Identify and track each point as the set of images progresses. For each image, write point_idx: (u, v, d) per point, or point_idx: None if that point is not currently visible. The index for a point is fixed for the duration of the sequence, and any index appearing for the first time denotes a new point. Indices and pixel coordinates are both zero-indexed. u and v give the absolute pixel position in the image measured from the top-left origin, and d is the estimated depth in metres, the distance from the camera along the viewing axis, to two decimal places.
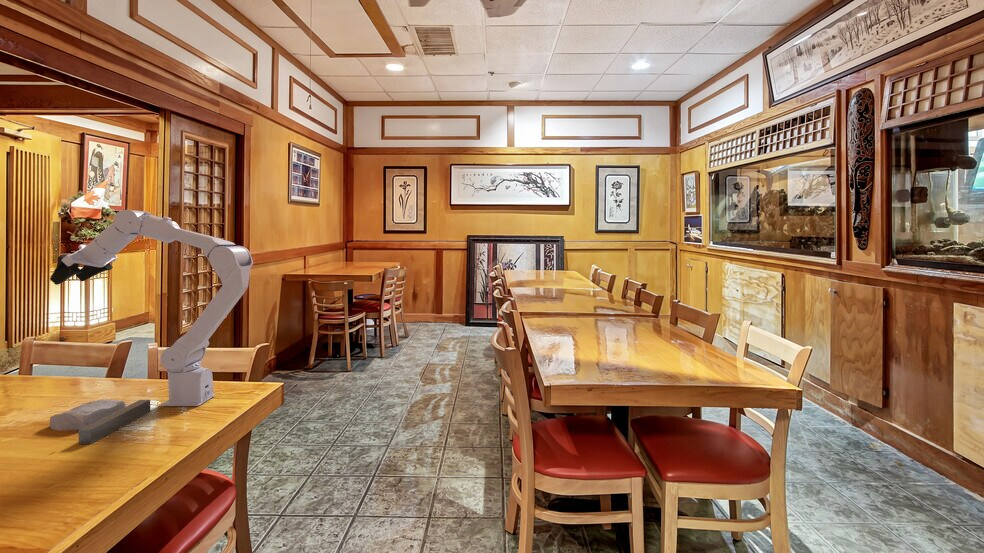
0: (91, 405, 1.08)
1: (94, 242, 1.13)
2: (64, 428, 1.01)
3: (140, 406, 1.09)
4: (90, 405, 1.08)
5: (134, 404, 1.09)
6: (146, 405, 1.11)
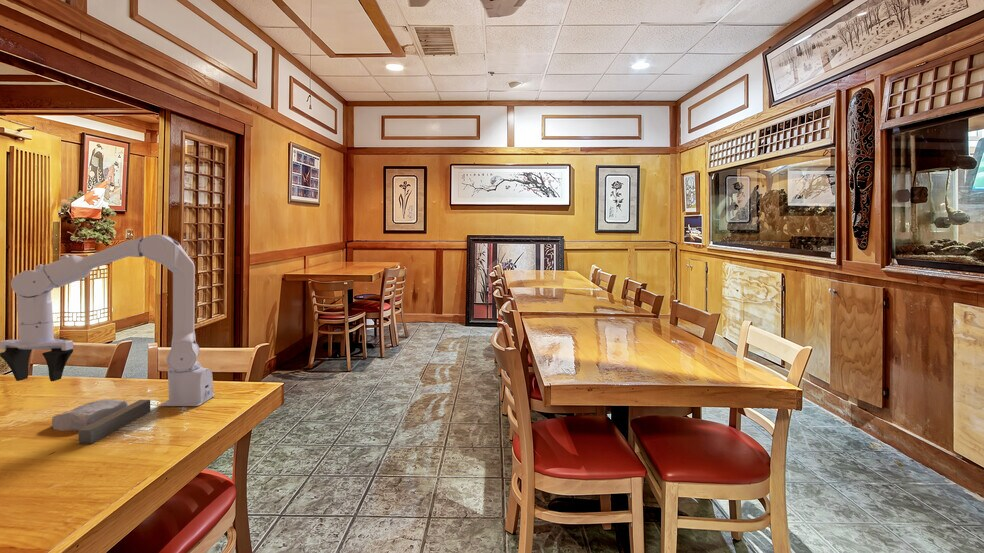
0: (93, 405, 1.08)
1: (41, 325, 1.04)
2: (66, 428, 1.01)
3: (140, 406, 1.09)
4: (92, 405, 1.08)
5: (134, 404, 1.09)
6: (146, 405, 1.11)
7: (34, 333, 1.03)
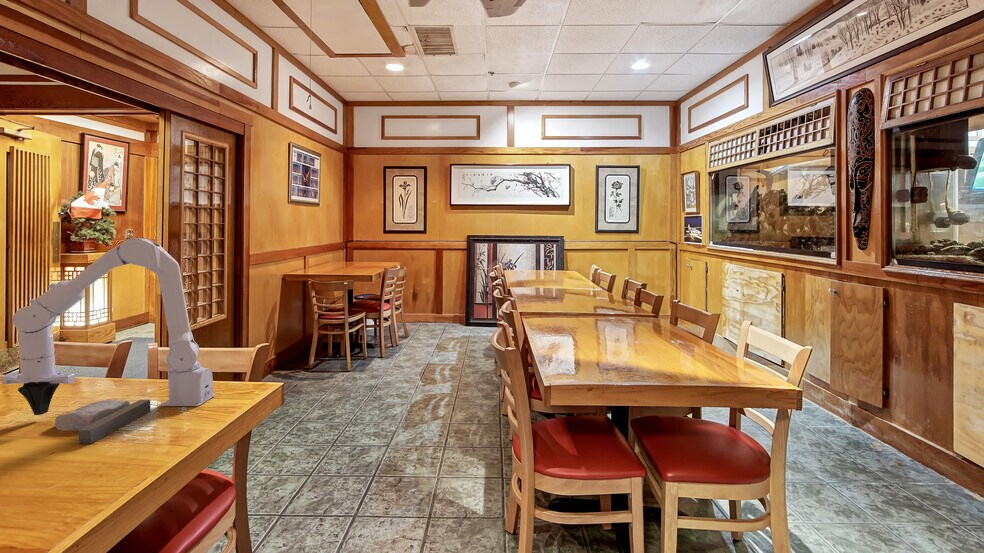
0: (96, 405, 1.08)
1: (43, 359, 1.04)
2: (70, 428, 1.01)
3: (140, 406, 1.09)
4: (95, 405, 1.08)
5: (134, 404, 1.09)
6: (146, 405, 1.11)
7: (36, 368, 1.03)
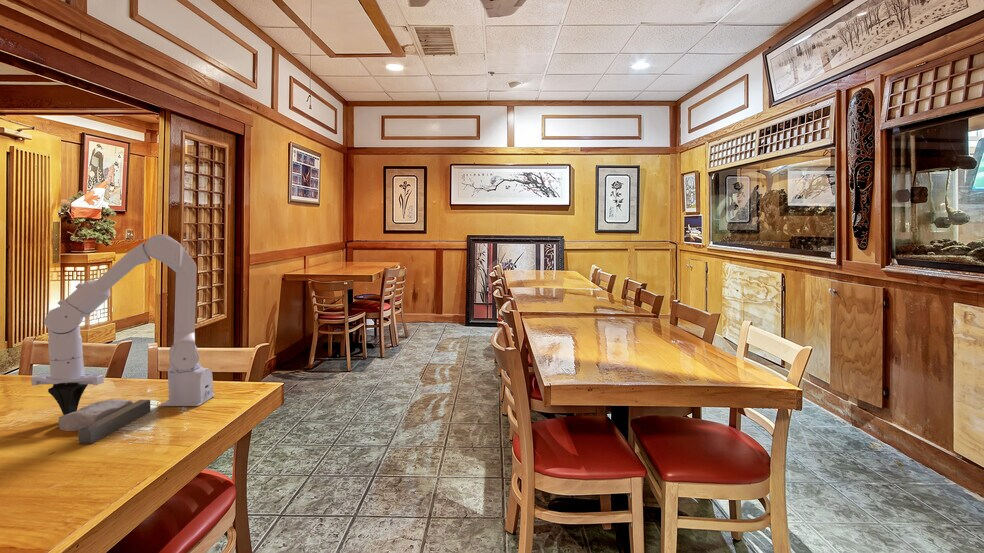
0: (99, 405, 1.08)
1: (73, 360, 1.05)
2: (73, 428, 1.01)
3: (140, 406, 1.09)
4: (98, 405, 1.08)
5: (134, 404, 1.09)
6: (146, 405, 1.11)
7: (66, 369, 1.04)
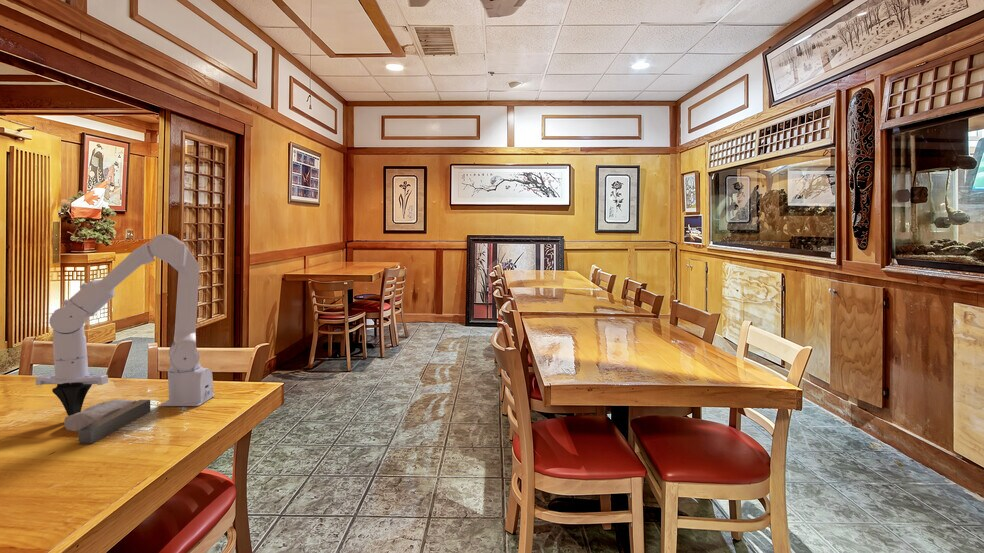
0: (105, 405, 1.08)
1: (77, 360, 1.05)
2: (79, 428, 1.01)
3: (140, 406, 1.09)
4: (104, 405, 1.08)
5: (134, 404, 1.09)
6: (146, 405, 1.11)
7: (70, 369, 1.04)
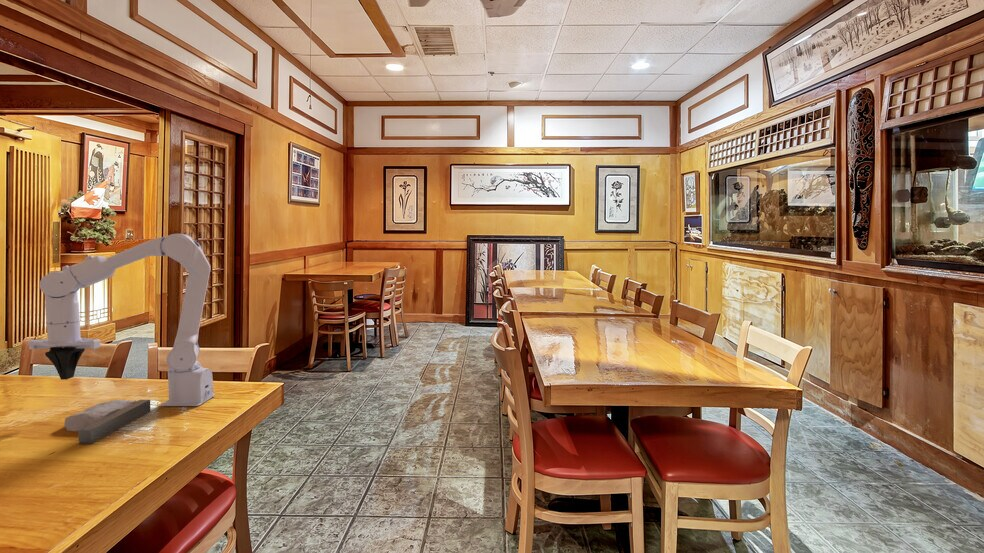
0: (105, 405, 1.08)
1: (70, 324, 1.06)
2: None
3: (140, 406, 1.09)
4: (104, 406, 1.08)
5: (134, 404, 1.09)
6: (146, 405, 1.11)
7: (63, 332, 1.05)
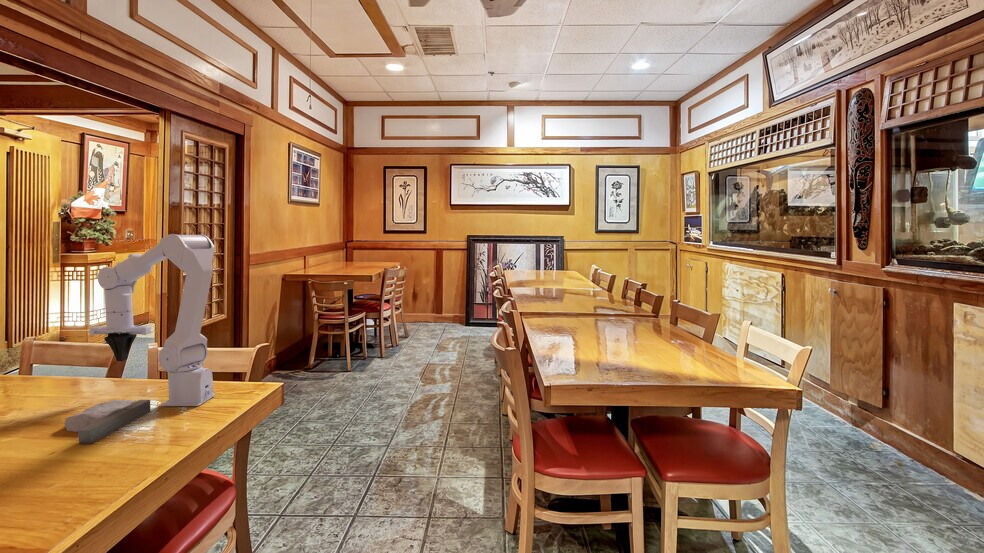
0: (105, 405, 1.08)
1: (125, 313, 1.22)
2: None
3: (140, 406, 1.09)
4: (104, 406, 1.08)
5: (134, 404, 1.09)
6: (146, 405, 1.11)
7: (120, 320, 1.21)
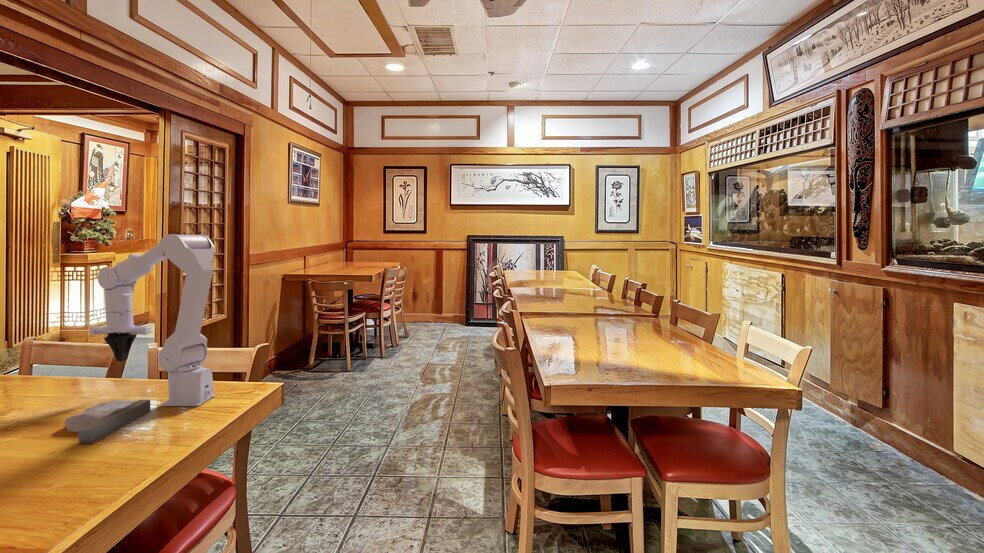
0: (105, 406, 1.08)
1: (125, 313, 1.22)
2: None
3: (140, 406, 1.09)
4: (104, 406, 1.07)
5: (134, 404, 1.09)
6: (146, 405, 1.11)
7: (120, 320, 1.21)
